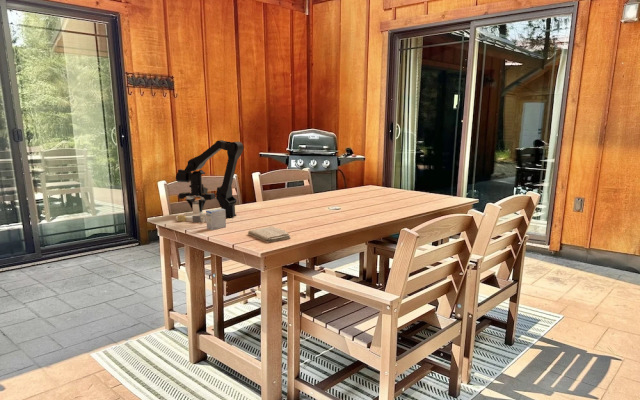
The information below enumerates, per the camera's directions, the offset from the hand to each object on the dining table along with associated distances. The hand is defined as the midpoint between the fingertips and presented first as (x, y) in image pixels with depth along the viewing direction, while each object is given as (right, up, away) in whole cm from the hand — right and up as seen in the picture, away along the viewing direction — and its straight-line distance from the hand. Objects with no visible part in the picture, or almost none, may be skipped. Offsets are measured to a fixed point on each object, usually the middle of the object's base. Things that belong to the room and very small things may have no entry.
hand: (197, 211), depth 222 cm
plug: (0, -2, 0) cm, 2 cm away
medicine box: (+17, -7, -29) cm, 34 cm away
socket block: (+2, -3, -10) cm, 11 cm away
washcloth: (+43, -10, -43) cm, 62 cm away
